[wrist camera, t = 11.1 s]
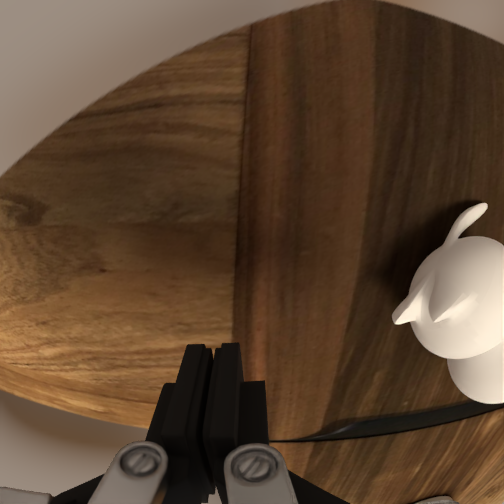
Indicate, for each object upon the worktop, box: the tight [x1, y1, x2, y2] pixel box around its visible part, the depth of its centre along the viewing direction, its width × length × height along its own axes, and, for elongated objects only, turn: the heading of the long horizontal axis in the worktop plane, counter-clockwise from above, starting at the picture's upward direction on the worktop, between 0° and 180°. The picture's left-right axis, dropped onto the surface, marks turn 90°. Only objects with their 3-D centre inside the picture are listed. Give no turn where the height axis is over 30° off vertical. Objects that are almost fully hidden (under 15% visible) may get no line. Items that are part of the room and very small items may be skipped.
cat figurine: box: [392, 203, 504, 404], centre depth 15 cm, size 9×11×12 cm
